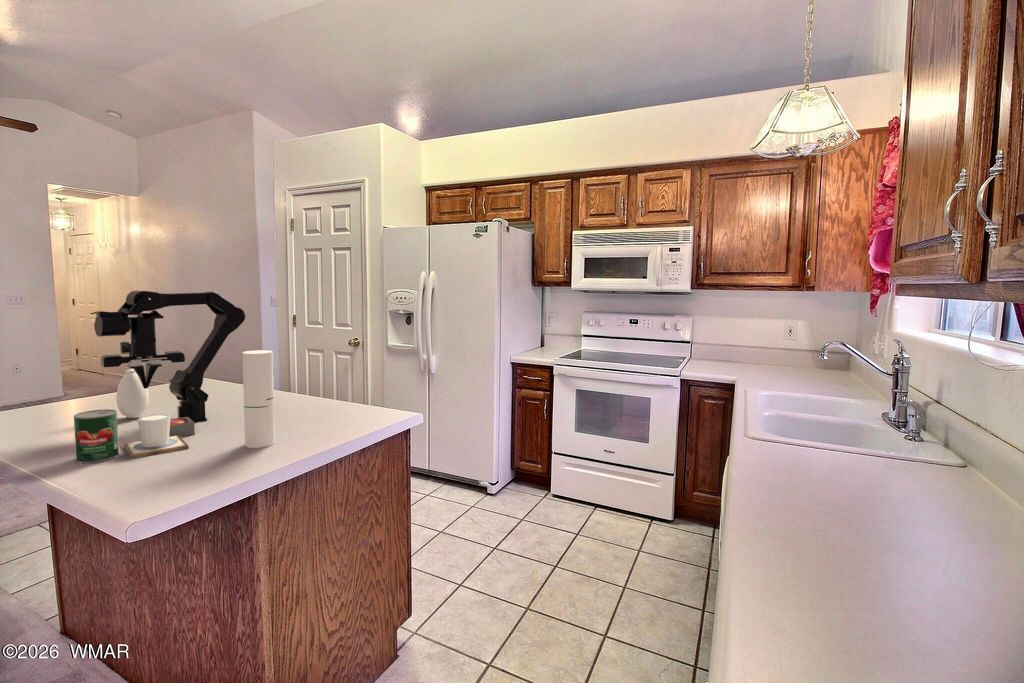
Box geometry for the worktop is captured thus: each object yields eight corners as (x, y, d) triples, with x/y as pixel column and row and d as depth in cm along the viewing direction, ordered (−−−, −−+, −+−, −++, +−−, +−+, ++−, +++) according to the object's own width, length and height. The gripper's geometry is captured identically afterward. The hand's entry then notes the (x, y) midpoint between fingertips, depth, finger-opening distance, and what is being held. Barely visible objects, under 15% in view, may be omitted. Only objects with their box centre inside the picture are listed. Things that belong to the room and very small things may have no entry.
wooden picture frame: (178, 437, 134) (178, 434, 134) (188, 448, 126) (188, 444, 126) (123, 446, 126) (123, 442, 126) (130, 458, 117) (130, 454, 117)
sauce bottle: (136, 421, 149) (133, 363, 147) (111, 420, 149) (107, 362, 147) (155, 415, 157) (152, 359, 155) (131, 414, 157) (128, 359, 155)
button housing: (188, 428, 144) (187, 416, 143) (194, 434, 138) (194, 422, 138) (154, 433, 138) (154, 421, 138) (160, 439, 132) (159, 427, 132)
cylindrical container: (280, 441, 134) (279, 351, 131) (259, 449, 127) (257, 354, 124) (260, 438, 136) (258, 349, 133) (238, 445, 129) (236, 352, 127)
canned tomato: (83, 466, 112) (80, 419, 111) (70, 459, 116) (67, 413, 115) (124, 456, 119) (122, 412, 118) (111, 450, 123) (109, 407, 122)
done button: (182, 425, 141) (182, 418, 141) (186, 429, 138) (186, 422, 138) (162, 428, 138) (162, 421, 138) (166, 432, 134) (165, 424, 134)
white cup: (158, 448, 122) (157, 421, 122) (132, 447, 122) (130, 420, 122) (178, 440, 129) (177, 414, 128) (152, 439, 129) (151, 413, 129)
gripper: (174, 331, 151) (176, 380, 153) (96, 333, 138) (99, 388, 139) (184, 334, 144) (186, 386, 145) (102, 337, 130) (105, 394, 132)
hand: (145, 388), depth 141 cm, fingers closed
